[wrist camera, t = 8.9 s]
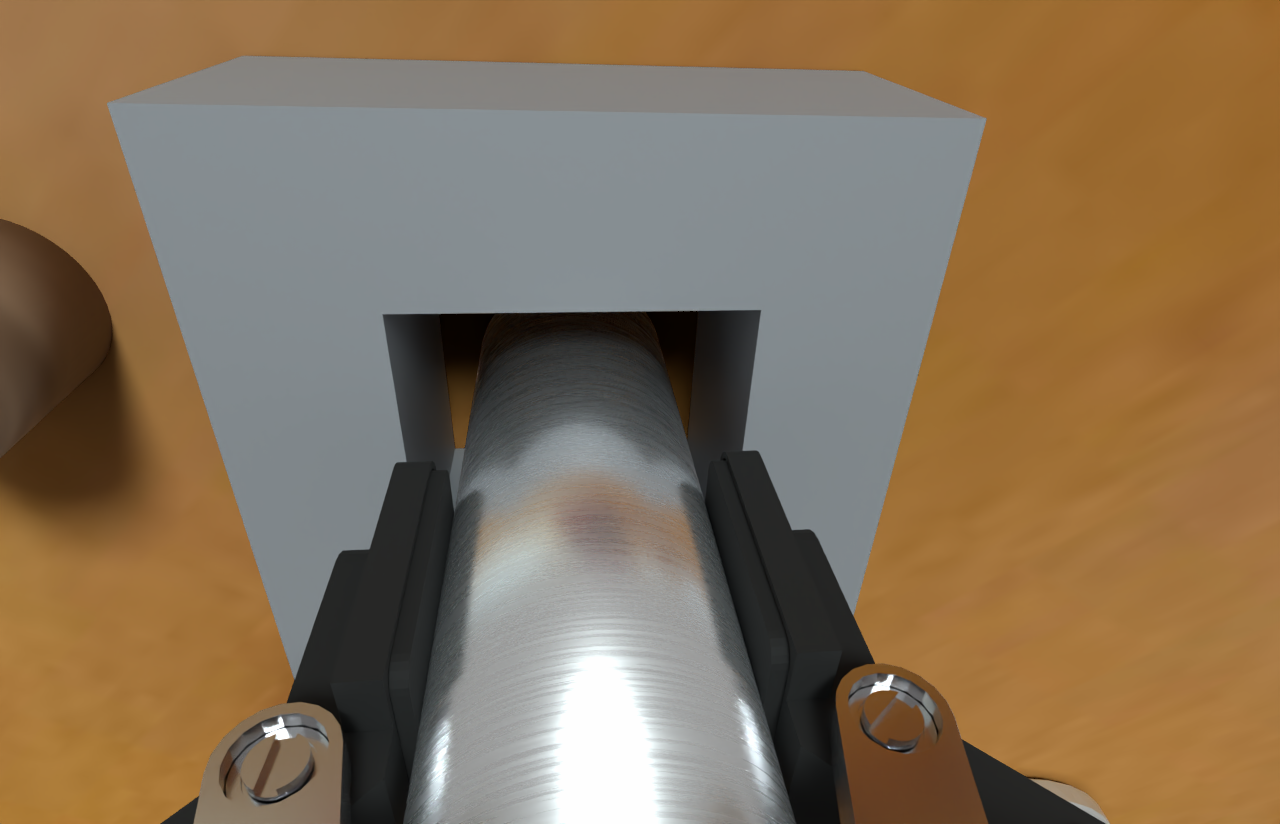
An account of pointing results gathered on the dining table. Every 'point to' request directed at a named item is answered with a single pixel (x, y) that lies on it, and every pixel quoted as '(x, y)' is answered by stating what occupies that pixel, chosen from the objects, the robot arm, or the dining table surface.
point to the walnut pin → (44, 329)
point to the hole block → (541, 266)
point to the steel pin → (586, 603)
